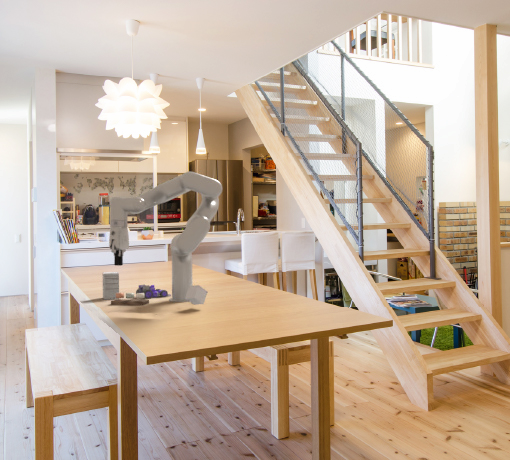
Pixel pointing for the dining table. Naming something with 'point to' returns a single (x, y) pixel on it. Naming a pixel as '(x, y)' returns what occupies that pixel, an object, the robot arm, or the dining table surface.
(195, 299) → the gray cube
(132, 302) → the button plate
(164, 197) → the robot arm
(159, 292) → the toy race car
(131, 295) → the sage button
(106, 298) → the supplement box
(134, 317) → the dining table surface
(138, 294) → the cream button
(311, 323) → the dining table surface
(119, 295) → the terracotta button
